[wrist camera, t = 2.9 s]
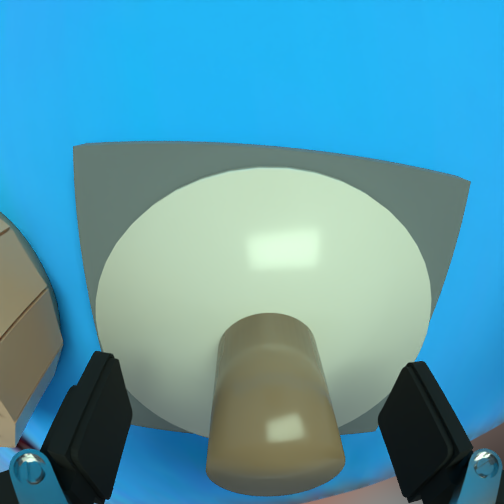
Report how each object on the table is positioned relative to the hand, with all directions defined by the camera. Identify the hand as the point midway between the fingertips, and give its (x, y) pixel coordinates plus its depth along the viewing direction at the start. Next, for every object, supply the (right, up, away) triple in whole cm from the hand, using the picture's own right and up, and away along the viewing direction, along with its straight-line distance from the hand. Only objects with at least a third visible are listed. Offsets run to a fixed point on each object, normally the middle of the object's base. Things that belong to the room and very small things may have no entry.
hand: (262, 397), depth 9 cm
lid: (0, +1, +3) cm, 3 cm away
